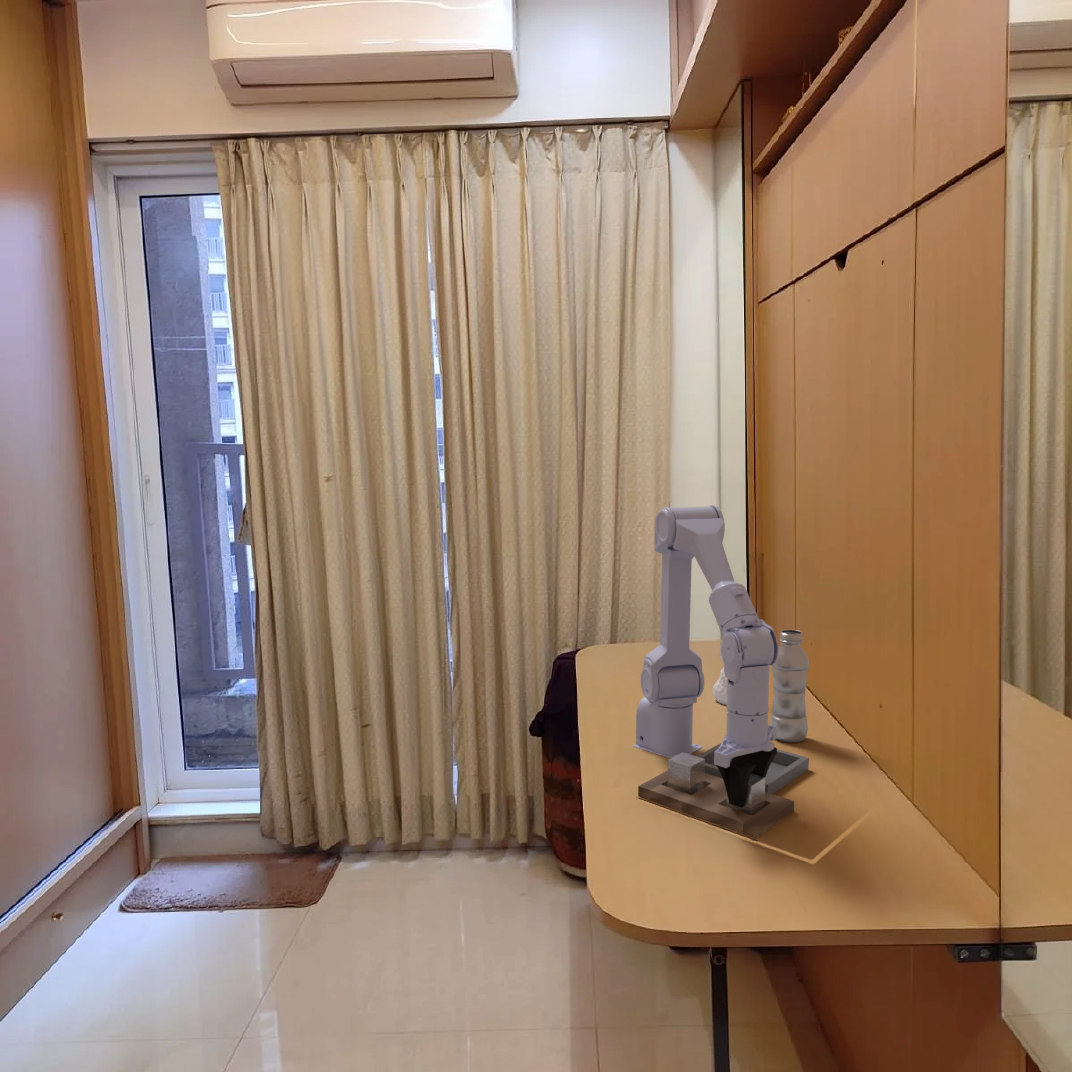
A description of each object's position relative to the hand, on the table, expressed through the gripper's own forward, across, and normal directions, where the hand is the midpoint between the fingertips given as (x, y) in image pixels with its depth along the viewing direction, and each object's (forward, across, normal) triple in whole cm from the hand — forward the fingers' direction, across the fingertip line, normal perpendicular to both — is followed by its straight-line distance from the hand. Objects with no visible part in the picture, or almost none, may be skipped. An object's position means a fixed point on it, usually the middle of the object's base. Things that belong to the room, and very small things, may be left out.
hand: (744, 799), depth 123 cm
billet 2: (+3, 0, 0) cm, 3 cm away
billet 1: (+3, 0, +10) cm, 10 cm away
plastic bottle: (+3, +32, +9) cm, 33 cm away
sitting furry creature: (+3, +44, +27) cm, 52 cm away
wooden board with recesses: (+3, 0, +5) cm, 6 cm away
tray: (+3, +14, +7) cm, 16 cm away
